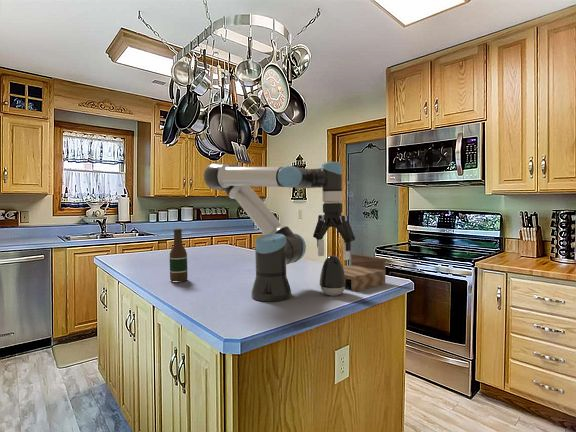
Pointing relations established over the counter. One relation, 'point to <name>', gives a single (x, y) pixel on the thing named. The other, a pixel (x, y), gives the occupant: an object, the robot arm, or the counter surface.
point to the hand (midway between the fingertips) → (333, 257)
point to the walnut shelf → (365, 272)
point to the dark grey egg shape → (332, 276)
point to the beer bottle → (178, 259)
